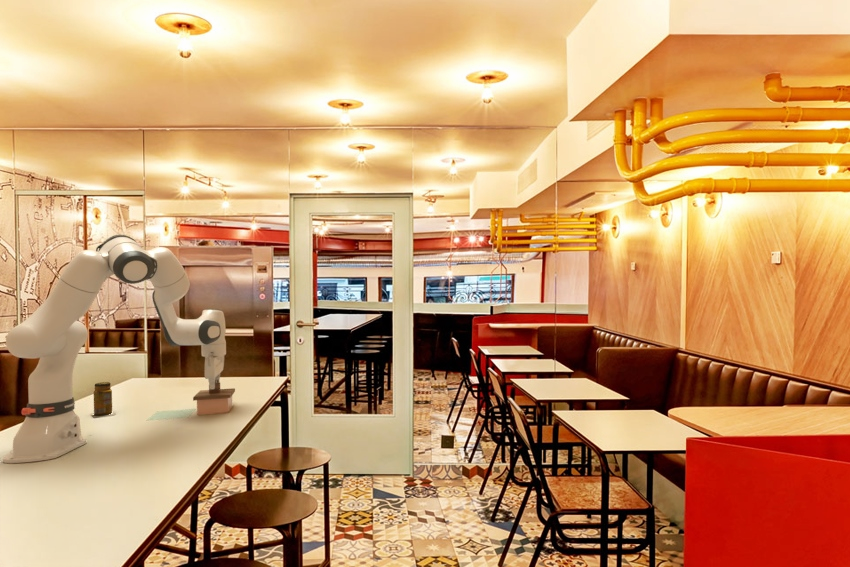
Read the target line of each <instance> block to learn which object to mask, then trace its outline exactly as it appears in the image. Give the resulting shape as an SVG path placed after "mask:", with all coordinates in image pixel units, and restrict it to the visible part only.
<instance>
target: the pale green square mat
mask: <svg viewBox="0 0 850 567" xmlns="http://www.w3.org/2000/svg"><path fill="white" fill-rule="evenodd" d="M195 410H196V408H187V409H186V408H185V409H173V410H159V411H156V412H155V413H153V414H152V415H151V416H150V417H149V418H148V419H146V421H148V422H149V421H161V420H172V419H173V420H175V419H187V418H189V417H190V416H191V415H192V414H193V412H195Z"/></svg>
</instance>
